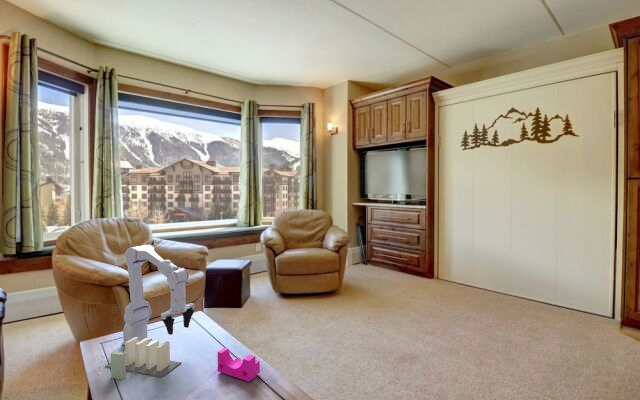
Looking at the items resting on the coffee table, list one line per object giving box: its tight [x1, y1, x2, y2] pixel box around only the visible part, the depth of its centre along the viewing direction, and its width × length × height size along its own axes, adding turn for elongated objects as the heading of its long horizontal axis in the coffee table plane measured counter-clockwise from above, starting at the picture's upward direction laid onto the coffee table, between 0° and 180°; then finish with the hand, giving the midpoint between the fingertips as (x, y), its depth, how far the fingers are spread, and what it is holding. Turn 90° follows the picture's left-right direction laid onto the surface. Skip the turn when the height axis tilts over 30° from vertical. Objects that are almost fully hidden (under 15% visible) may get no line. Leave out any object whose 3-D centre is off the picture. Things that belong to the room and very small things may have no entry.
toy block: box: [217, 347, 261, 382], centre depth 121 cm, size 15×6×8 cm, turn 64°
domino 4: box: [156, 341, 171, 371], centre depth 123 cm, size 2×5×9 cm, turn 164°
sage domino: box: [110, 350, 127, 380], centre depth 117 cm, size 2×5×9 cm, turn 75°
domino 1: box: [124, 337, 139, 366], centre depth 127 cm, size 2×5×9 cm, turn 165°
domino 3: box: [146, 339, 160, 369], centre depth 124 cm, size 2×5×9 cm, turn 164°
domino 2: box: [135, 338, 150, 368], centre depth 125 cm, size 2×5×9 cm, turn 164°
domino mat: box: [104, 360, 182, 378], centre depth 125 cm, size 27×10×1 cm, turn 75°
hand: (178, 330), depth 133 cm, fingers open, 7 cm apart
